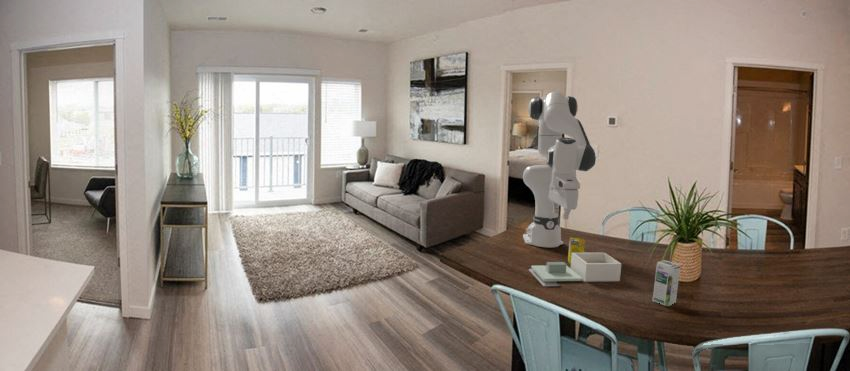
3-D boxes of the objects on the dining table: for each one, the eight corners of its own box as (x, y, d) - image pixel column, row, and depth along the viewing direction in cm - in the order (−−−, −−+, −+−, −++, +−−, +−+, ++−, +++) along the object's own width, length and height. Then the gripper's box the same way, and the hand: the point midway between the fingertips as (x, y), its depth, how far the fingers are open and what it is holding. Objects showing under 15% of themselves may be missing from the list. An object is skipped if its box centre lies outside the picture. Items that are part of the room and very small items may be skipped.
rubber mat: (528, 269, 198) (528, 269, 197) (565, 269, 199) (566, 268, 199) (543, 286, 180) (543, 285, 180) (584, 285, 182) (584, 284, 182)
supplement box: (583, 266, 203) (585, 242, 202) (568, 265, 205) (570, 240, 203) (581, 262, 209) (583, 238, 207) (567, 261, 210) (569, 237, 208)
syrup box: (651, 301, 169) (656, 261, 166) (660, 297, 172) (665, 259, 170) (667, 307, 164) (672, 266, 162) (676, 303, 168) (681, 263, 165)
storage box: (570, 271, 197) (571, 252, 196) (602, 271, 199) (604, 252, 197) (584, 283, 184) (586, 263, 182) (619, 283, 185) (621, 263, 184)
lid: (531, 270, 196) (531, 257, 195) (566, 269, 198) (567, 257, 197) (543, 283, 181) (544, 269, 180) (581, 283, 183) (582, 269, 182)
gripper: (546, 176, 193) (543, 209, 195) (565, 185, 173) (562, 222, 175) (561, 176, 194) (558, 209, 196) (582, 185, 174) (579, 222, 176)
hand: (560, 215), depth 186 cm, fingers open, 8 cm apart
